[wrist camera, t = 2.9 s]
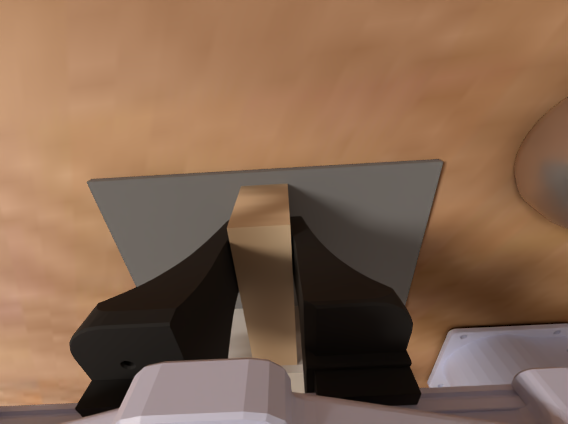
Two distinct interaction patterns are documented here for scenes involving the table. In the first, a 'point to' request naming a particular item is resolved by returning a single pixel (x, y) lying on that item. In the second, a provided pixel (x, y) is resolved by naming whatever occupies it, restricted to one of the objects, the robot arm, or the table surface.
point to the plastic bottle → (546, 165)
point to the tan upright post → (264, 278)
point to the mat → (302, 202)
